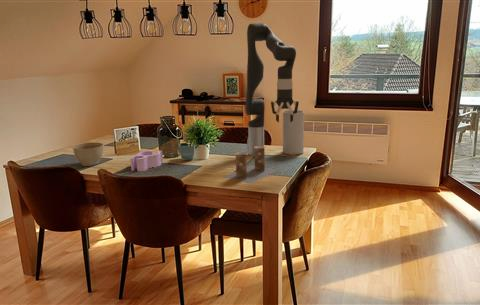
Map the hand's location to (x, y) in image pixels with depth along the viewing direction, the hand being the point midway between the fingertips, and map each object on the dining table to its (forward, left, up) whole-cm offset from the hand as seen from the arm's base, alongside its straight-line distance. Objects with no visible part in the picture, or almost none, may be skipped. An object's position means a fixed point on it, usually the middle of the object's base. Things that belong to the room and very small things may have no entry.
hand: (284, 121), depth 197 cm
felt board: (-10, -15, -26) cm, 31 cm away
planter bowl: (-99, -48, -26) cm, 113 cm away
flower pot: (-59, -10, -26) cm, 65 cm away
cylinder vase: (-15, +36, -26) cm, 47 cm away
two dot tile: (-10, -7, -25) cm, 28 cm away
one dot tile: (-11, -22, -25) cm, 35 cm away
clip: (-68, -33, -26) cm, 80 cm away
